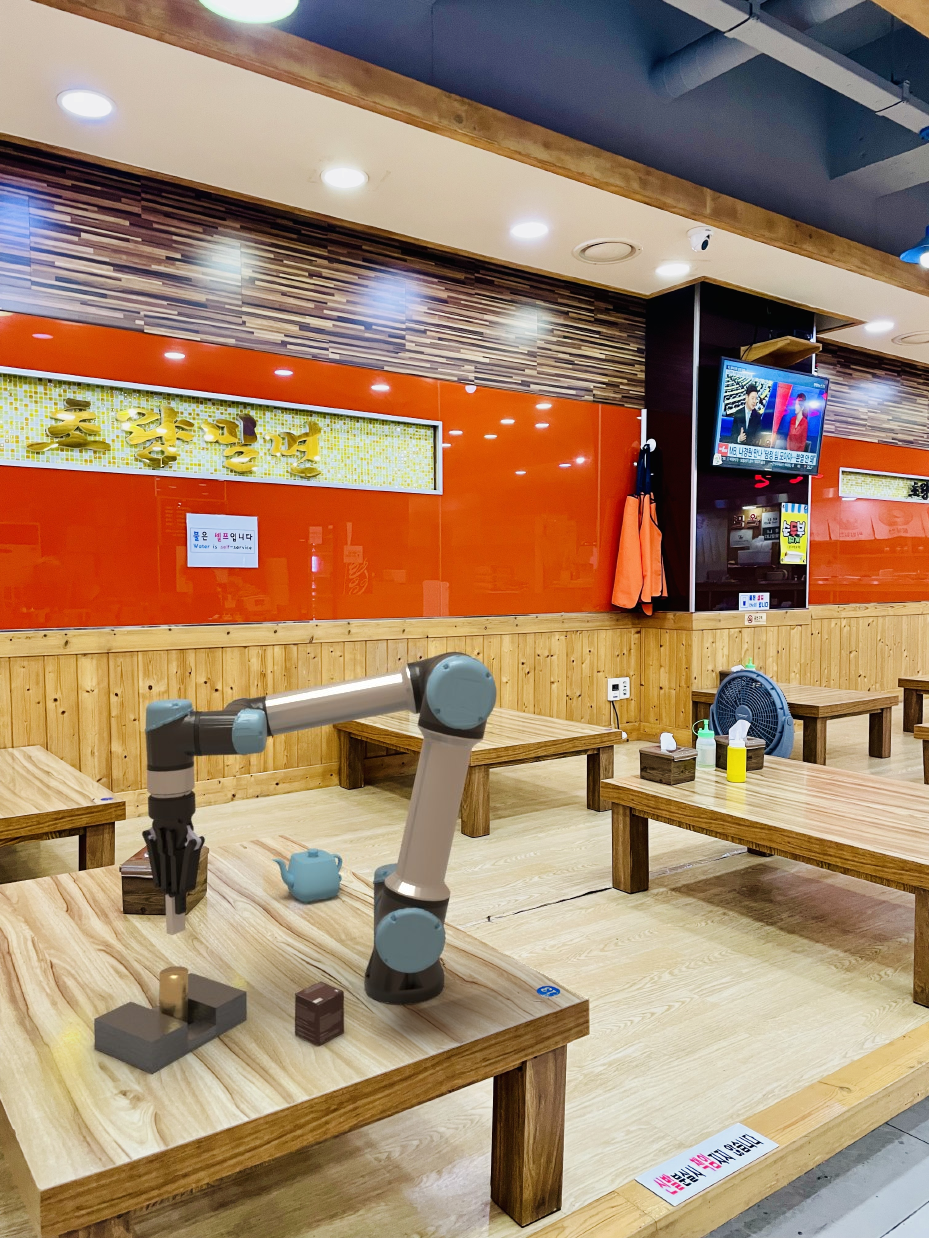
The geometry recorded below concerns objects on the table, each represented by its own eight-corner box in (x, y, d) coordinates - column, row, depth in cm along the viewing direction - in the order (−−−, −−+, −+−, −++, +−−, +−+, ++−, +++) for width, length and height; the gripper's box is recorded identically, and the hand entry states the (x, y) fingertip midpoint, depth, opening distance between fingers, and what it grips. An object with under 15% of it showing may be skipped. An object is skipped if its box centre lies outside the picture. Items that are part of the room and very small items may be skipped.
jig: (246, 1019, 152) (246, 991, 152) (151, 1073, 135) (151, 1042, 134) (191, 999, 159) (190, 972, 159) (94, 1048, 142) (94, 1018, 142)
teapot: (263, 895, 213) (263, 849, 213) (332, 883, 223) (332, 838, 222) (280, 911, 203) (280, 863, 202) (351, 897, 212) (352, 851, 212)
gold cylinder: (193, 1028, 148) (194, 970, 147) (171, 1040, 144) (171, 980, 143) (175, 1020, 150) (176, 963, 150) (152, 1031, 146) (153, 973, 146)
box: (321, 1021, 151) (321, 980, 151) (345, 1033, 147) (345, 990, 147) (293, 1035, 147) (293, 992, 146) (317, 1047, 143) (317, 1003, 143)
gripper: (216, 791, 145) (220, 930, 146) (163, 783, 152) (167, 917, 153) (180, 801, 139) (185, 947, 140) (127, 793, 146) (131, 931, 147)
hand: (176, 931), depth 146 cm, fingers closed
